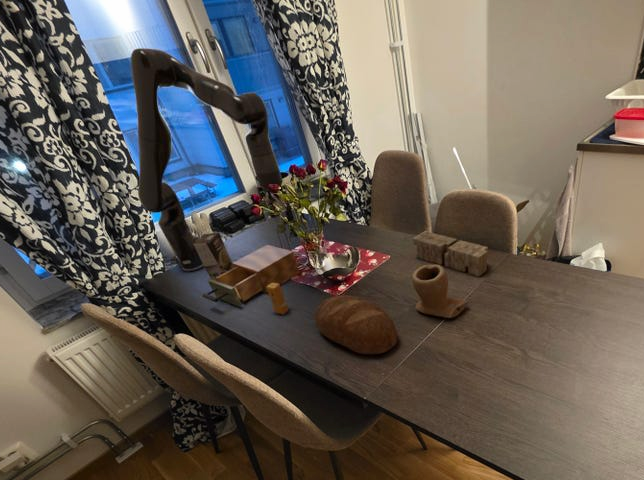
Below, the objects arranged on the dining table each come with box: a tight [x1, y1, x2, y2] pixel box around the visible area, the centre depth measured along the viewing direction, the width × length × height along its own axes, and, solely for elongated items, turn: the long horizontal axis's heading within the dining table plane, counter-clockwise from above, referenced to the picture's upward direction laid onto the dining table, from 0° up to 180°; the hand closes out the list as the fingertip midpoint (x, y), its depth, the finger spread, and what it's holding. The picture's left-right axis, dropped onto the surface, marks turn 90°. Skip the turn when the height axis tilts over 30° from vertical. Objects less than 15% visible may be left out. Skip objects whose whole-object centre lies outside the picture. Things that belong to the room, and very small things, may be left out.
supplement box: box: [266, 283, 289, 315], centre depth 126 cm, size 3×3×10 cm
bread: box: [314, 294, 398, 355], centre depth 112 cm, size 16×29×11 cm, turn 50°
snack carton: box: [300, 238, 313, 268], centre depth 147 cm, size 5×3×13 cm, turn 56°
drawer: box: [202, 267, 264, 307], centre depth 136 cm, size 20×14×7 cm, turn 146°
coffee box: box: [194, 232, 234, 281], centre depth 146 cm, size 9×6×16 cm
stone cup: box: [411, 263, 469, 319], centre depth 115 cm, size 15×12×15 cm
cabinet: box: [232, 244, 301, 294], centre depth 144 cm, size 16×15×9 cm
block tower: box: [412, 230, 489, 278], centre depth 141 cm, size 8×8×29 cm
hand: (282, 219), depth 134 cm, fingers open, 8 cm apart
